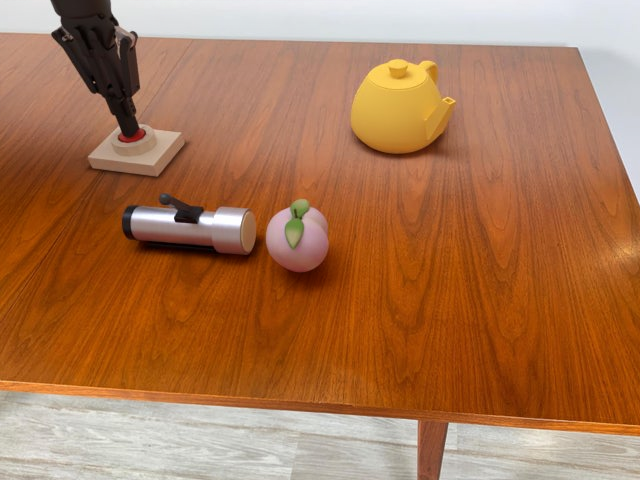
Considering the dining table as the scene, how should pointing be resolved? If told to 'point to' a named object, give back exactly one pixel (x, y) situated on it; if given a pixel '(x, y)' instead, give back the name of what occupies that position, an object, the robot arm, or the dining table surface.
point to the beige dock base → (137, 152)
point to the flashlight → (192, 228)
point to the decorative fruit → (298, 237)
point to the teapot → (400, 107)
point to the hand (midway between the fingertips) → (131, 132)
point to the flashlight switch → (174, 203)
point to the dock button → (134, 138)
